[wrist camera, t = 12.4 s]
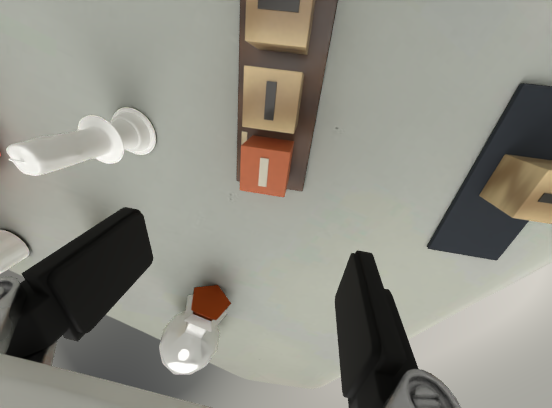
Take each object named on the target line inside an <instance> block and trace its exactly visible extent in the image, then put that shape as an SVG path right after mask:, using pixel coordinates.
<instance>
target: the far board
mask: <svg viewBox="0 0 552 408" xmlns="http://www.w3.org/2000/svg"><path fill="white" fill-rule="evenodd" d="M337 1H338V0H315V7H314V14H313V21H312V27H311V34H310V41H309V48H308V54H307V55H303V54H294V53H285V52H276V51H267V50H258V49H257V48H255V47H254V46H252V45H251V44H249V43H248V42H246V41H245V19H246V0H240V35H239V85H238V134H237V181H240V162H241V145H242V144H243V143H244V142H246V141H247V140H248V139H249V138H250V137H251V136H253V135H254V136H261V137H268V138H275V139H282V140H289V141H294V146H293V152H292V159H291V166H290V173H289V180H288V184H287V188H286V189H290V190H297V191H303V185H304V180H305V175H306V169H307V164H308V158H309V153H310V147H311V142H312V137H313V131H314V126H315V120H316V115H317V110H318V104H319V99H320V93H321V88H322V82H323V77H324V72H325V66H326V61H327V55H328V50H329V45H330V39H331V34H332V28H333V23H334V18H335V12H336V7H337ZM244 65H246V66H255V67H263V68H272V69H280V70H288V71H297V72H303V74H304V82H303V89H302V95H301V102H300V109H299V116H298V123H297V127H296V129H295V132H294V134H291V133H284V132H277V131H269V130H262V129H255V128H248V127H242V117H243V84H244Z"/></svg>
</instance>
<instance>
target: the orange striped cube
mask: <svg viewBox="0 0 552 408" xmlns="http://www.w3.org/2000/svg"><path fill="white" fill-rule="evenodd" d="M293 146H294V141H289V140H282V139H275V138H268V137H261V136H254V135H253V136H251V137H250V138H249V139H248V140H247V141H246V142H244V143H243V144H242V145H241V162H240V190H242V191H248V192H254V193H261V194H267V195H273V196H279V197H284V196H285V192H286V188H287V184H288V180H289V173H290V166H291V159H292V152H293Z"/></svg>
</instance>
